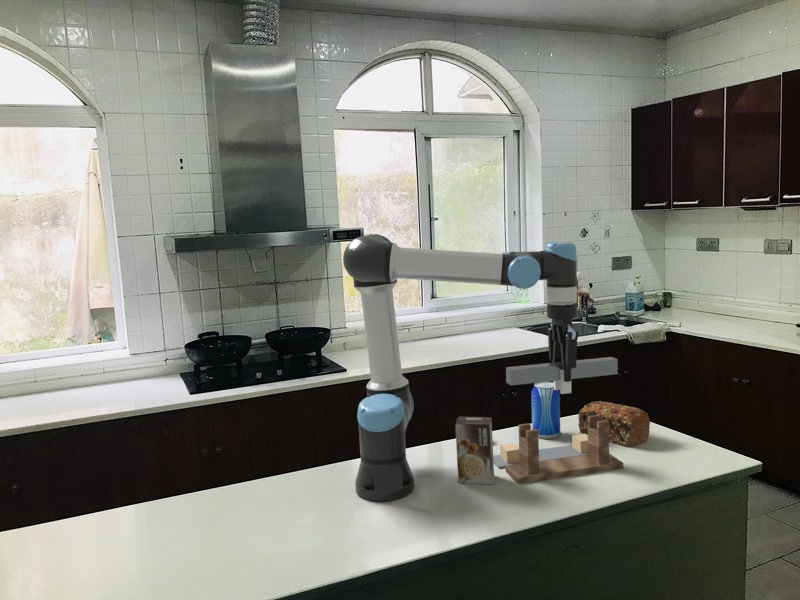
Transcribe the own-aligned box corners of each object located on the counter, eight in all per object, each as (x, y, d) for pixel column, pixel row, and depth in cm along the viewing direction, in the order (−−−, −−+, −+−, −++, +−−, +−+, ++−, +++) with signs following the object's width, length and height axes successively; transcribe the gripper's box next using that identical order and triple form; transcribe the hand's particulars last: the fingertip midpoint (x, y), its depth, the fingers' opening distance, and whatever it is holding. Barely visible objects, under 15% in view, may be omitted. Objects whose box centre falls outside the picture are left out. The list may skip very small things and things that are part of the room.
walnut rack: (517, 483, 164) (516, 434, 162) (505, 471, 172) (504, 424, 170) (623, 468, 170) (623, 421, 168) (607, 457, 178) (607, 412, 176)
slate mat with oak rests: (498, 468, 174) (498, 454, 173) (488, 457, 182) (488, 444, 181) (606, 453, 180) (606, 440, 180) (591, 444, 188) (591, 430, 188)
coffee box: (495, 475, 170) (493, 416, 168) (492, 485, 164) (490, 424, 161) (460, 473, 172) (458, 415, 170) (457, 483, 166) (454, 423, 164)
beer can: (560, 440, 192) (560, 388, 190) (532, 439, 194) (531, 388, 192) (559, 430, 201) (558, 380, 198) (532, 430, 202) (531, 380, 200)
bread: (650, 440, 189) (651, 408, 187) (628, 449, 183) (628, 416, 181) (599, 425, 204) (599, 394, 203) (576, 433, 198) (576, 401, 197)
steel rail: (510, 385, 163) (510, 370, 162) (506, 382, 166) (506, 367, 165) (617, 374, 169) (617, 359, 168) (611, 371, 172) (611, 356, 171)
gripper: (590, 305, 158) (591, 398, 161) (560, 297, 173) (561, 382, 176) (562, 307, 156) (563, 401, 159) (535, 299, 172) (536, 384, 175)
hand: (562, 390), depth 168 cm, fingers closed on steel rail, 3 cm apart
